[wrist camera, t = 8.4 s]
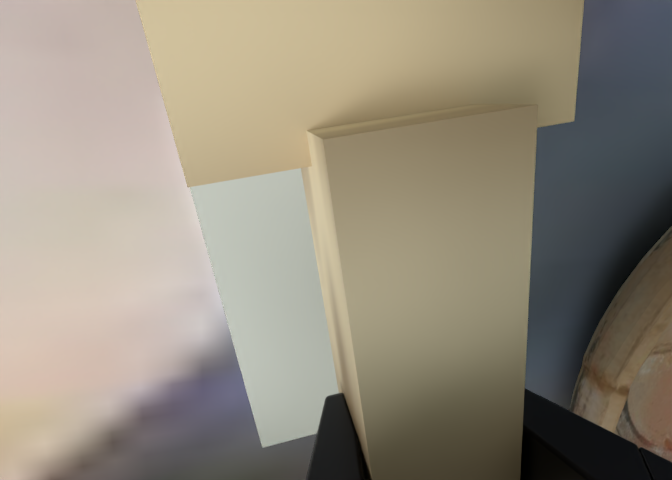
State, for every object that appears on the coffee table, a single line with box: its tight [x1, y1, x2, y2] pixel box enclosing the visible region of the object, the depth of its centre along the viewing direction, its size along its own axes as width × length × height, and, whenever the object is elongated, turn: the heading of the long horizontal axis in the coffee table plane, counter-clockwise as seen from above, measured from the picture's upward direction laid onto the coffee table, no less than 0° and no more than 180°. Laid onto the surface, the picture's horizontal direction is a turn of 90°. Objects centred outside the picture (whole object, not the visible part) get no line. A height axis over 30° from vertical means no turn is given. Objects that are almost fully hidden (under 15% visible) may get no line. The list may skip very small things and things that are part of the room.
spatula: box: [136, 0, 584, 480], centre depth 7 cm, size 20×6×4 cm, turn 8°
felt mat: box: [190, 168, 339, 448], centre depth 14 cm, size 14×9×1 cm, turn 8°
